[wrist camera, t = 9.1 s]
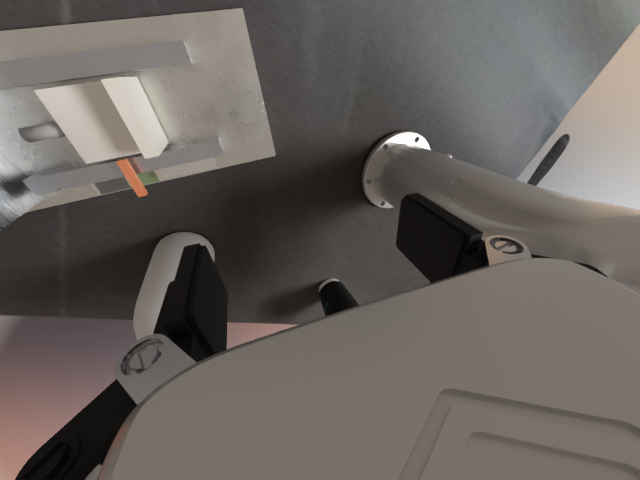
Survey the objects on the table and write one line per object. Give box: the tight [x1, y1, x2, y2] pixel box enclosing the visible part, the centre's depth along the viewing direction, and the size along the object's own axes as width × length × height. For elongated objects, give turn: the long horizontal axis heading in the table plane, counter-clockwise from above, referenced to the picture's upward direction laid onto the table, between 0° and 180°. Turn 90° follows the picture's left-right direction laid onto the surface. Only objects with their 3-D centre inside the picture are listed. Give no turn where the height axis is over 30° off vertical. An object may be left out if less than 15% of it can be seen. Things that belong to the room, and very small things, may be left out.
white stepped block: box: [18, 77, 169, 197], centre depth 22 cm, size 10×10×6 cm
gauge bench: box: [0, 8, 276, 231], centre depth 21 cm, size 28×14×10 cm, turn 97°
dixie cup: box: [319, 279, 360, 316], centre depth 46 cm, size 8×8×11 cm
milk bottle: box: [133, 232, 215, 340], centre depth 27 cm, size 8×8×20 cm
